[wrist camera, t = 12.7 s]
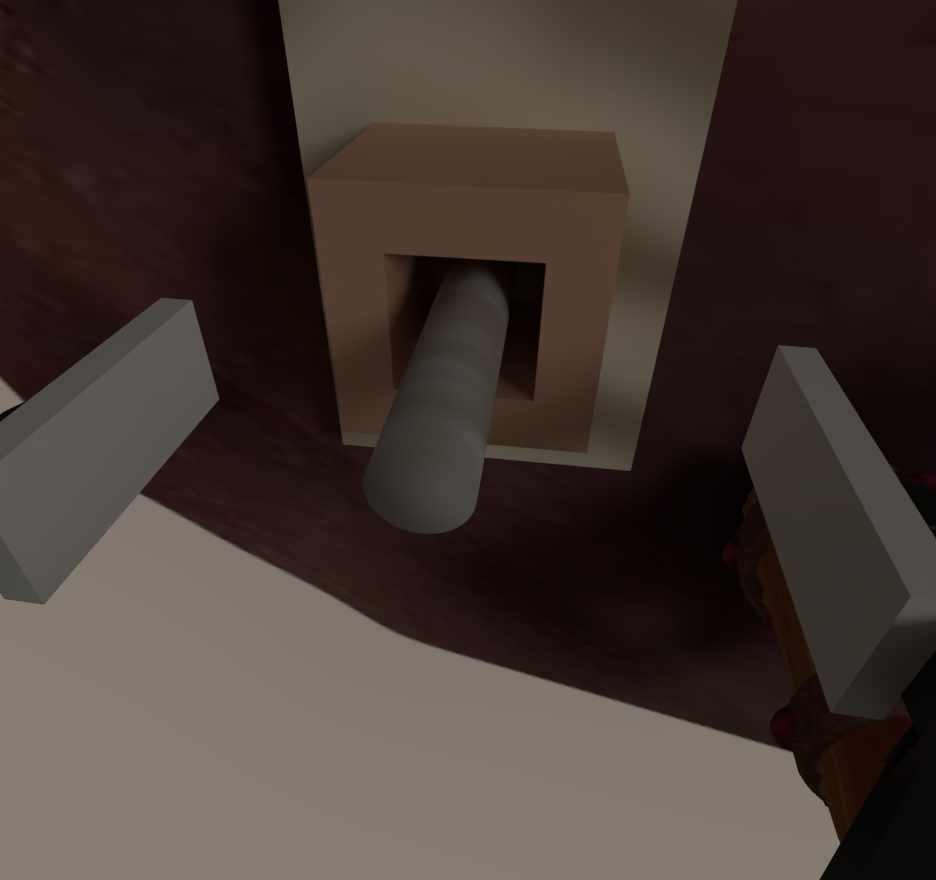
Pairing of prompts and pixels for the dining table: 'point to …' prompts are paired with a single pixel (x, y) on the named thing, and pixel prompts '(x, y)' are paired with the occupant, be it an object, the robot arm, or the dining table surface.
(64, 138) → the dining table surface
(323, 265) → the bead
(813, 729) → the mug
